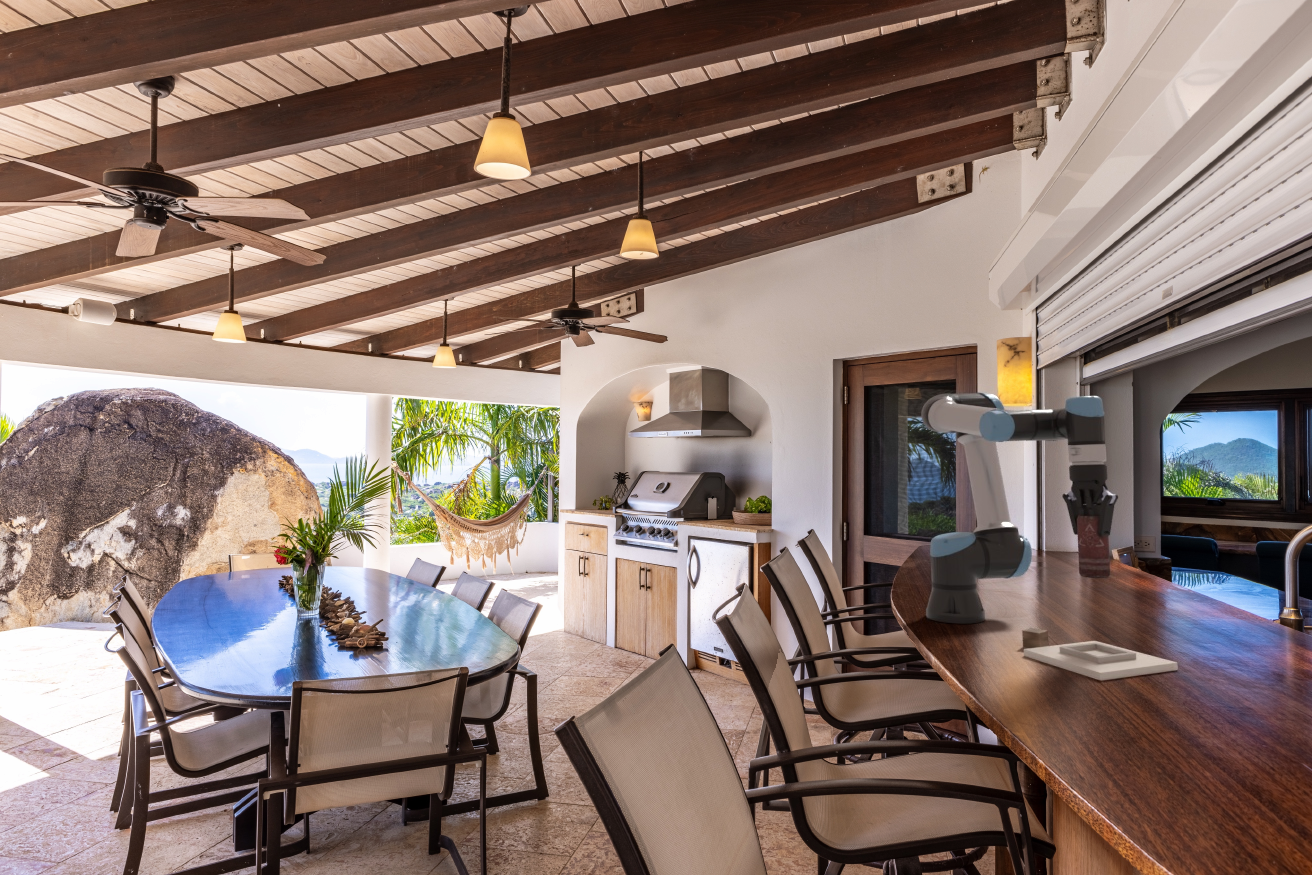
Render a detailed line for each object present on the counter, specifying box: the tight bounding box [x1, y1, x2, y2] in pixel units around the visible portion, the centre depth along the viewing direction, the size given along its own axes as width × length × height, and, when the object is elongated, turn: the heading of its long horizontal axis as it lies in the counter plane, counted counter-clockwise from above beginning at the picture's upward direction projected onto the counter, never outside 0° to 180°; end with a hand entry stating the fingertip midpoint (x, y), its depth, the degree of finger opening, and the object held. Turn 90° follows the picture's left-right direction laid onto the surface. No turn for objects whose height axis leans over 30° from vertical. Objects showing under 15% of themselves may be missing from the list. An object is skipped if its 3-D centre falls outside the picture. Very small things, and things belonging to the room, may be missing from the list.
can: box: [1076, 515, 1111, 579], centre depth 169 cm, size 6×6×14 cm
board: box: [1023, 640, 1178, 681], centre depth 158 cm, size 20×20×3 cm
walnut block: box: [1021, 627, 1050, 649], centre depth 172 cm, size 4×4×4 cm
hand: (1093, 567), depth 168 cm, fingers closed
